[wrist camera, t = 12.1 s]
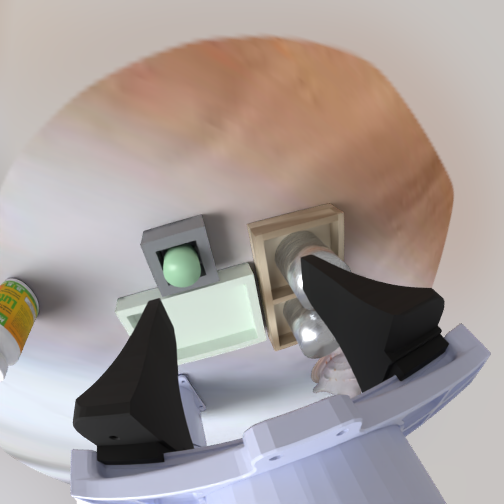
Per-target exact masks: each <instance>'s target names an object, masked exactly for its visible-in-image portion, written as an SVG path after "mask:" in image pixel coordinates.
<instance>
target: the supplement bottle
mask: <svg viewBox="0 0 504 504" xmlns="http://www.w3.org/2000/svg"><path fill="white" fill-rule="evenodd" d="M38 312H39V305H38V301H37V298H36V296H35V295H34V293H33V292H32V290H31V289H30V288H29V287H28V286H27V285H26V284H25V283H23V282H22V281H20V280H17V279H7V280H5V281H4V282H3V283H2V284H1V285H0V382H1V381H3V380H4V378H5V375H6V373H7V370H8V366H12V365H14V364H16V363H17V361H18V360H19V357H20V355H21V353H22V350H23V347H24V345H25V342H26V340H27V338H28V335H29V333H30V331H31V328H32V326H33V324H34V322H35V320H36V318H37V315H38Z"/></svg>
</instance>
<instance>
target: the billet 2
mask: <svg viewBox="0 0 504 504" xmlns="http://www.w3.org/2000/svg"><path fill="white" fill-rule="evenodd" d="M283 315H284V317H285V319H286V321H287V323H288V325H289V327H290V329H291V331H292V333H293V335H294V336H295V338H296V340H297V342H298V344H299V346H300V348H301V350H302V352H303V354H304V355H305V356H306V357H308V358H312V359H316V358H322V357H325V356H327V355H329V354H331V353H333V352H334V351H335V350H337V349H338V348H339V347H340V346H339V344H338V342H337V341H336V339H335V337H334V336H333V334H332V333H331V331H330V330H329V329H328V327H327V326H326V325H325V323H324V322H323V321H322V319H321V318H320V316H319V315H318V314H317V312H316V311H311V310H308V309H306V308H304V307H303V306H302V304H301V303H300V301H299V300H298V298H294V299H291V300H288V301H286V302H285V304H284V307H283Z"/></svg>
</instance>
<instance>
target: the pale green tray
mask: <svg viewBox="0 0 504 504" xmlns="http://www.w3.org/2000/svg"><path fill="white" fill-rule="evenodd" d="M217 273H218V276H219V280H220V281H218V282H215V283H211V284H207V285H204V286H200V287H197V288H193V289H190V290H186V291H182V292H179V293H175V294H172V295H168V296H164V297H162V295H161V293H160V291H159V289H158V288H155V289H151V290H147V291H144V292H140V293H137V294H133V295H129V296H126V297H122V298H118V301H117V305H116V310H115V313H116V315H117V316H118V318H119V320H120V321H121V323H122V325H123V326H124V328H125V329H126V331H127V333H128V334H129V336H131V334H132V333H133V331H134V329H135V327H136V325H137V323H138V321H139V319H140V317H141V315H142V313H143V311H144V309H145V307H146V305H147V303H148V301H150V300H154V299H157V298H160V299H161V301H162V303H163V306H164V308H165V310H166V312H167V314H168V316H169V318H170V320H171V322H172V324H173V326H174V331H175V337H176V343H177V362H178V365H180V364H185V363H189V362H193V361H197V360H201V359H205V358H208V357H212V356H216V355H219V354H223V353H227V352H230V351H234V350H237V349H240V348H244V347H247V346H250V345H254V344H257V343H260V342H263V341H266V335H265V330H264V325H263V320H262V315H261V310H260V305H259V300H258V295H257V290H256V285H255V280H254V275H253V272H252V270H251V268H250V266H249V264H248V262H247V263H243V264H240V265H236V266H233V267H229V268H226V269H222V270H219V271H217Z"/></svg>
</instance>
